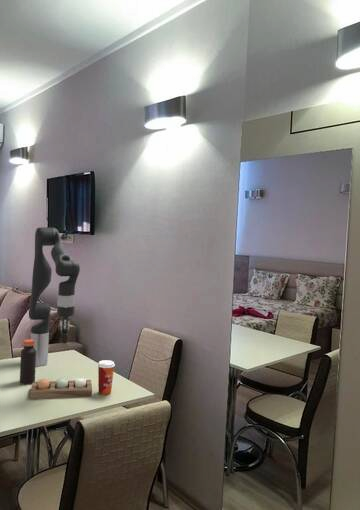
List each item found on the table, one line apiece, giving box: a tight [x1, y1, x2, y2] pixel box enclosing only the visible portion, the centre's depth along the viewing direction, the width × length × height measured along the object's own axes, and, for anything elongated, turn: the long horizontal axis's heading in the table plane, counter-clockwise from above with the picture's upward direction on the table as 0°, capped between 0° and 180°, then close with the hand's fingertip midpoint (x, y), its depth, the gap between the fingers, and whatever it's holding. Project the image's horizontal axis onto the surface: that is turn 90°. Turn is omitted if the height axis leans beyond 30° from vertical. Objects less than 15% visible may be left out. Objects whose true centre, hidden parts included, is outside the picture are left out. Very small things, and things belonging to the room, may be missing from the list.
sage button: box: [56, 377, 69, 389], centre depth 183 cm, size 5×5×4 cm
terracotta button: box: [37, 378, 50, 389], centre depth 181 cm, size 5×5×4 cm
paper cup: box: [97, 359, 116, 396], centre depth 186 cm, size 8×8×14 cm
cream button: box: [74, 377, 87, 388], centre depth 185 cm, size 5×5×4 cm
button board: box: [29, 379, 93, 400], centre depth 183 cm, size 12×26×3 cm, turn 105°
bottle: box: [19, 338, 37, 385], centre depth 192 cm, size 7×7×20 cm
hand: (64, 342), depth 184 cm, fingers closed
